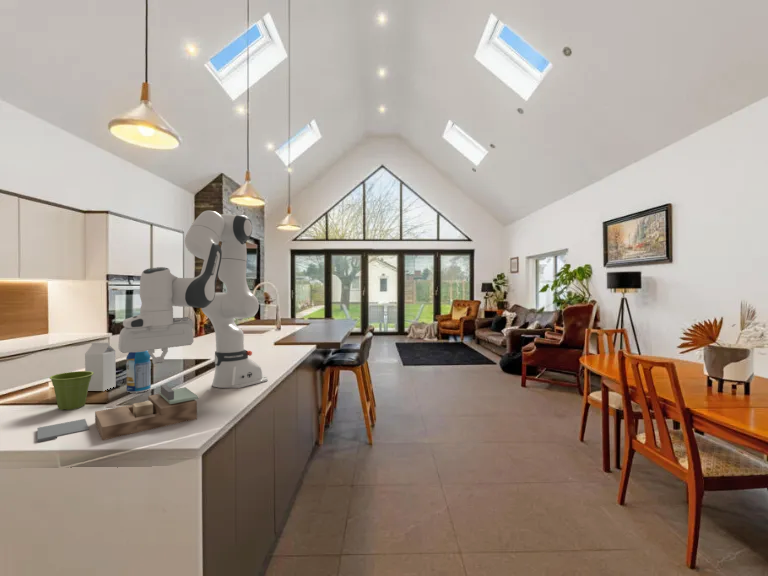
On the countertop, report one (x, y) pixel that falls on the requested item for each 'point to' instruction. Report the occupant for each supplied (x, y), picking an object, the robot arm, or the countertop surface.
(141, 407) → the maple block
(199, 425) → the countertop surface
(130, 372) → the beverage bottle
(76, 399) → the plant pot
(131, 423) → the puzzle board
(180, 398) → the sliding lid
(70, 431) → the rubber pad
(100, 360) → the milk carton
